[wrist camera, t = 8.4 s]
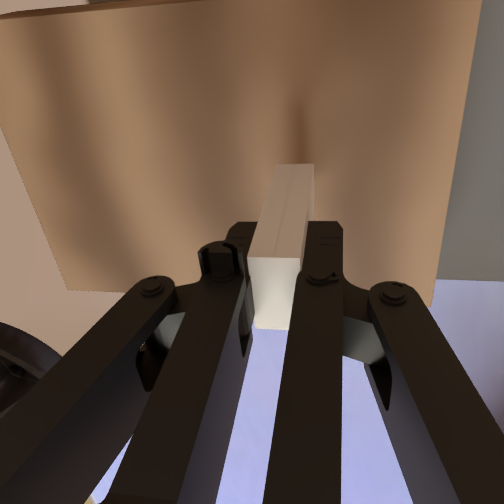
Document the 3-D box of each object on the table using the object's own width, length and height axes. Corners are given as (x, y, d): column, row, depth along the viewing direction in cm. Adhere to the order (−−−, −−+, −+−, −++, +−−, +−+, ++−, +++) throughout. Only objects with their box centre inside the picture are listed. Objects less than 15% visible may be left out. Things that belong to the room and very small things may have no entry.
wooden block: (99, 251, 29) (67, 289, 26) (17, 11, 22) (-43, 23, 18) (421, 260, 25) (430, 306, 22) (461, -32, 18) (486, -27, 14)
